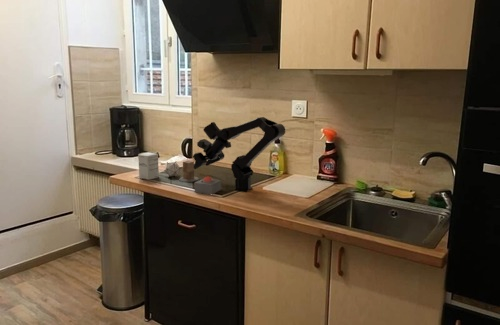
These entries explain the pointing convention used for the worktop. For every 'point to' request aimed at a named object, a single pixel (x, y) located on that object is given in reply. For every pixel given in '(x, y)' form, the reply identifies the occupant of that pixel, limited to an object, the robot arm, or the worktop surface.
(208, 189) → the button housing
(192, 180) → the slate coaster
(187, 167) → the brown tapered cup
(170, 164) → the white crumpled paper
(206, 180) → the dome button
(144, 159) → the supplement box
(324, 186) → the worktop surface
